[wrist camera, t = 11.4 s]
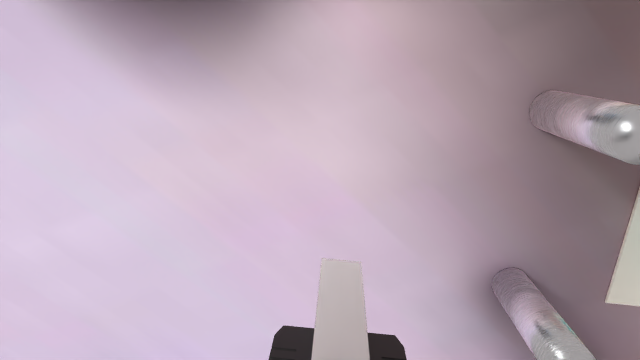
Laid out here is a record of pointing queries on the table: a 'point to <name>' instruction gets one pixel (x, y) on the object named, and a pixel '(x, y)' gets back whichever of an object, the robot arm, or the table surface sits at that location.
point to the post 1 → (590, 122)
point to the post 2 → (537, 318)
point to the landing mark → (628, 265)
